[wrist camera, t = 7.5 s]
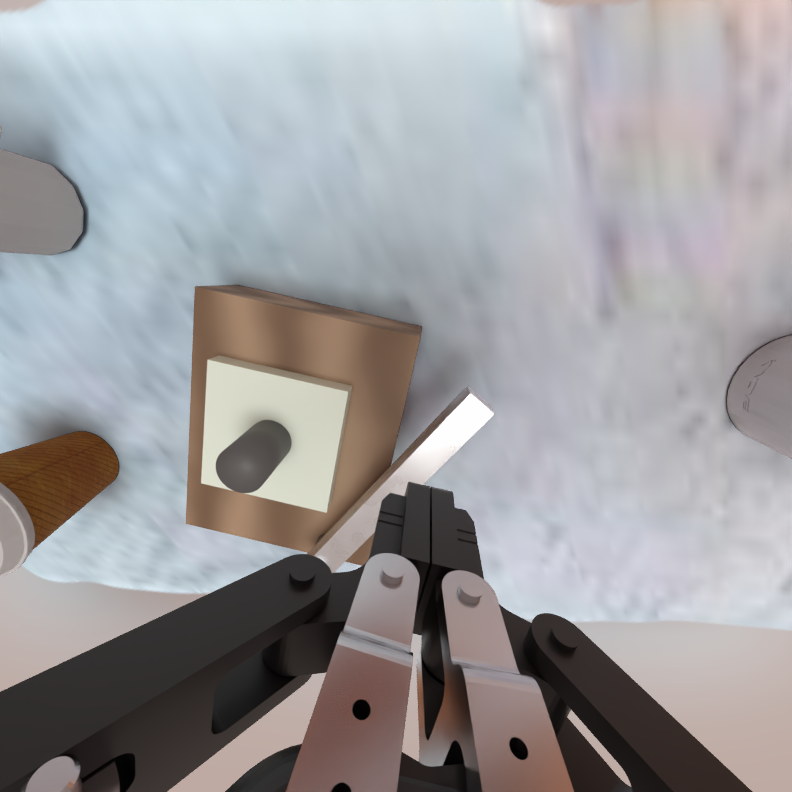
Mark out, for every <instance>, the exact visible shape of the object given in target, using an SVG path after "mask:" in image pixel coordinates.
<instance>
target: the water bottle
mask: <svg viewBox="0 0 792 792" xmlns="http://www.w3.org/2000/svg"><path fill="white" fill-rule="evenodd" d="M1 130H2V126H0V137H1ZM82 232H83V208H82V205H81V203H80V201H79V198H78V196H77V194H76V191H75V189H74V187H73V186H72V185H71V184H70V183H69V182H68V181H67V180H66V179H65V178H64V177H63V176H62V175H61V174H60V173H59V172H58V171H57V170H56V169H55V168H54V167H53V166H52V165H50V164H47V163H44V162H40V161H37V160H34V159H31V158H28V157H25V156H21V155H18V154H15V153H11V152H8V151H4V150H1V149H0V252H8V253H25V254H41V255H53V254H57V253H60V252H64V251H67V250H70V249H71V247H72V246H73V245H74V243H75V242H76V240H77V239H78V238H79V236H80V235H81V233H82Z"/></svg>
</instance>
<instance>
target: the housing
mask: <svg viewBox="0 0 792 792" xmlns="http://www.w3.org/2000/svg"><path fill="white" fill-rule="evenodd" d="M421 331H422V326H418V325H413V324H409V323H404V322H400V321H395V320H391V319H387V318H382V317H378V316H373V315H369V314H364V313H360V312H356V311H351V310H347V309H342V308H338V307H333V306H329V305H324V304H320V303H316V302H311V301H307V300H302V299H298V298H293V297H289V296H285V295H280V294H276V293H271V292H267V291H262V290H258V289H254V288H249V287H245V286H240V285H220V286H195V299H194V325H193V351H192V377H191V403H190V429H189V455H188V481H187V508H186V524H190V525H194V526H198V527H202V528H207V529H211V530H215V531H219V532H223V533H228V534H232V535H236V536H240V537H245V538H249V539H253V540H257V541H261V542H266V543H270V544H274V545H278V546H282V547H287V548H291V549H295V550H299V551H304V552H309V551H310V550H311V549H312V548H313V547H314V546H315V545H316V544H317V543H318V542H319V541H320V540H321V539H322V538H323V536H324V535H325V534H326V533H327V532H328V531H329V530H330V529H331V528H332V527H333V526H334V525H335V524H336V523H337V522H338V521H339V520H340V519H341V518H342V517H343V516H344V514H345V513H346V512H347V511H348V510H349V509H350V508H351V507H352V506H353V505H354V504H355V503H356V502H357V501H358V500H359V499H360V498H361V497H362V496H363V495H364V494H365V492H366V491H367V490H368V489H369V488H370V487H371V486H372V485H373V484H374V483H375V482H376V481H377V480H378V479H379V478H380V477H381V476H382V475H383V474H384V473H385V472H386V470H387V469H388V468H389V467H390V466H391V462H392V458H393V453H394V449H395V445H396V440H397V436H398V432H399V428H400V423H401V419H402V415H403V410H404V406H405V402H406V397H407V393H408V389H409V385H410V380H411V376H412V372H413V367H414V363H415V359H416V355H417V350H418V346H419V342H420V337H421ZM219 355H220V356H224V357H228V358H233V359H237V360H242V361H246V362H250V363H255V364H259V365H263V366H268V367H272V368H277V369H281V370H285V371H290V372H294V373H298V374H303V375H307V376H311V377H316V378H320V379H325V380H329V381H333V382H338V383H342V384H346V385H351V386H352V391H351V397H350V402H349V408H348V413H347V419H346V424H345V430H344V435H343V441H342V446H341V452H340V457H339V463H338V468H337V474H336V479H335V485H334V490H333V496H332V501H331V504H330V506H329V508H328V511H327V513H325V512H321V511H317V510H312V509H308V508H304V507H300V506H295V505H291V504H287V503H283V502H278V501H274V500H270V499H266V498H261V497H257V496H253V495H249V494H244V493H239V492H235V491H232V490H227V489H223V488H219V487H215V486H210V485H206V484H202V483H201V475H202V456H203V436H204V417H205V398H206V378H207V360H208V359H211V358H213V357H216V356H219ZM373 537H374V533H373V534H372V535H371V536H370V537H369V538H368V539H367V540H366V541H365V542H364V543H363V544H362V545H361V546H360V547H359V548H358V549H357V550H356V551H355V552H354V553H353V554H352V555H351V556H350V557H349V558H348V559H347V560H346V562H350V563H354V564H358V565H364V564H365V563H366V562H367V560H368V559H369V555H370V550H371V546H372V541H373Z"/></svg>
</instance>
